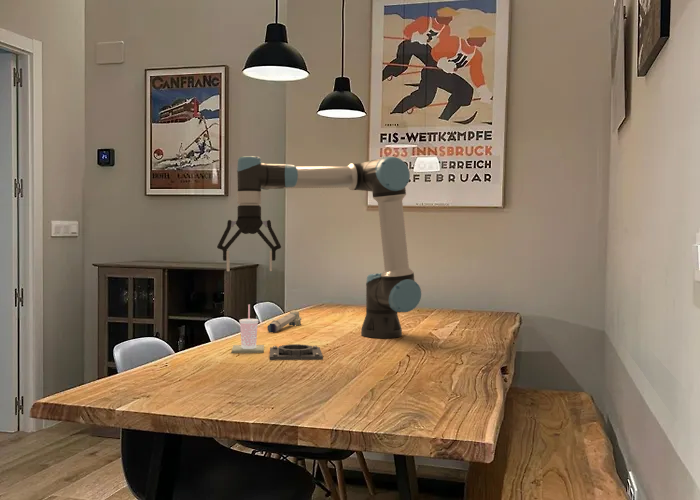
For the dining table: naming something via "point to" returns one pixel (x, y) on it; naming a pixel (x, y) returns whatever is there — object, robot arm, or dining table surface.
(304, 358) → the flange
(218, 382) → the dining table surface
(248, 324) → the beverage cup
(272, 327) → the tan tube
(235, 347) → the pad
